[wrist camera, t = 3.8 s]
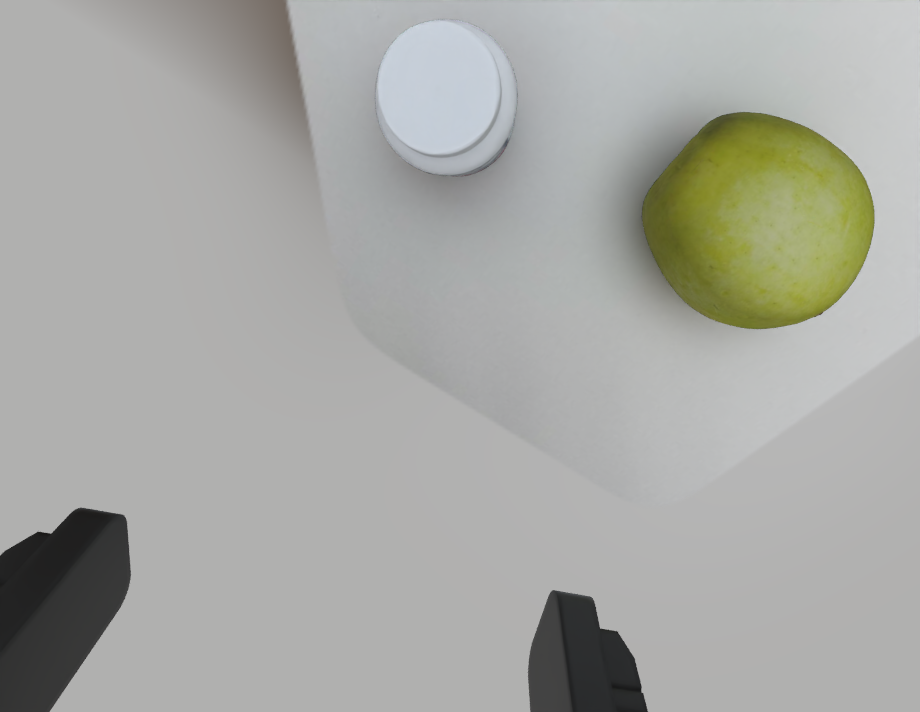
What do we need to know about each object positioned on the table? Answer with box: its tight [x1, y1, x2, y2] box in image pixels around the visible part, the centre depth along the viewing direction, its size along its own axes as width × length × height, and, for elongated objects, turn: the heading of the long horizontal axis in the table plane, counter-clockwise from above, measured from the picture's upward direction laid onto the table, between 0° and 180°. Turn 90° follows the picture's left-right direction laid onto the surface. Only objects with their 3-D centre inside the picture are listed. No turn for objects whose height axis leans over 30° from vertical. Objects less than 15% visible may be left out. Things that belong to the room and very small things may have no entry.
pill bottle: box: [375, 19, 518, 176], centre depth 23 cm, size 5×5×9 cm
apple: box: [642, 112, 874, 329], centre depth 24 cm, size 8×9×8 cm
